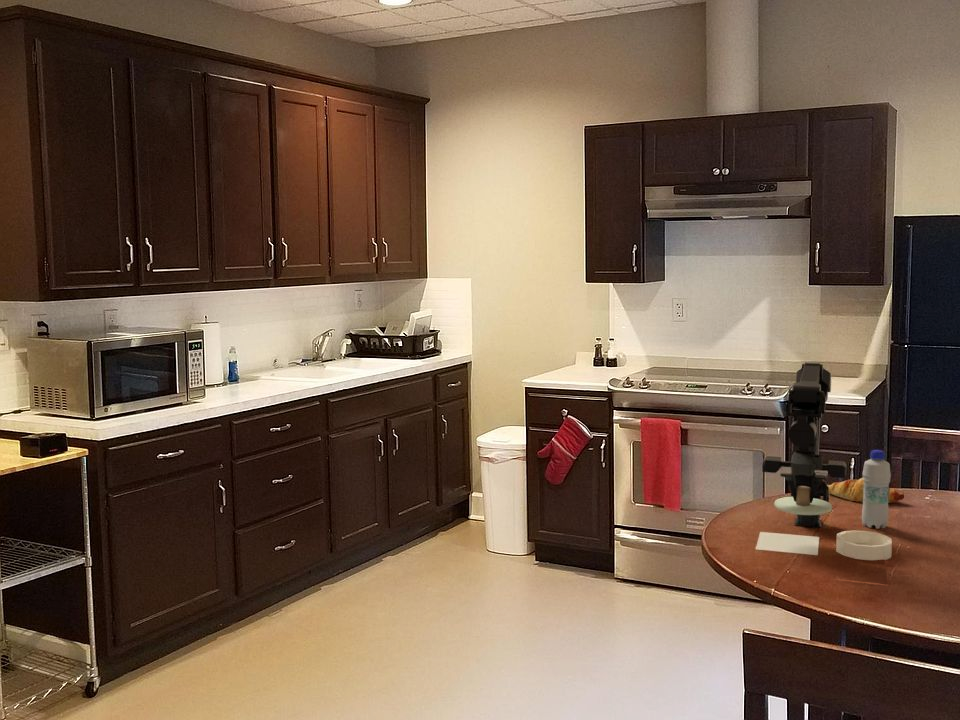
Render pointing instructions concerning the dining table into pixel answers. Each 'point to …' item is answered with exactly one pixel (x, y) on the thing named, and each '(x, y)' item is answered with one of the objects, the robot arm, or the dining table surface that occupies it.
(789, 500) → the lid
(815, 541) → the mat
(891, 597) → the dining table surface
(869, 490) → the bottle
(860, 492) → the croissant
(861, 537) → the bowl
